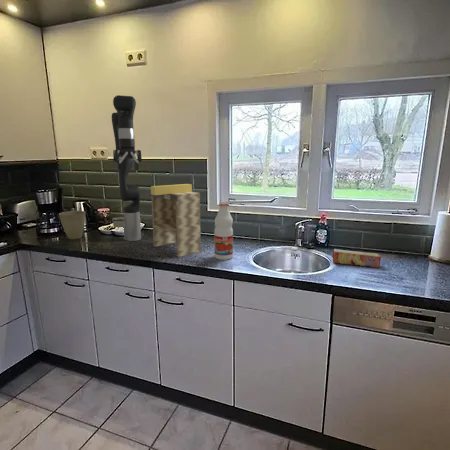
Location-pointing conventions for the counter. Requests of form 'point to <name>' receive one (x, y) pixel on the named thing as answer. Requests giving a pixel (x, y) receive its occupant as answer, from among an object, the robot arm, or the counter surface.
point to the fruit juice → (223, 233)
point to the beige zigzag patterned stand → (177, 221)
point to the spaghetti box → (171, 189)
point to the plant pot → (73, 223)
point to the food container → (118, 222)
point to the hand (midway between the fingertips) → (128, 170)
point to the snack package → (356, 258)
